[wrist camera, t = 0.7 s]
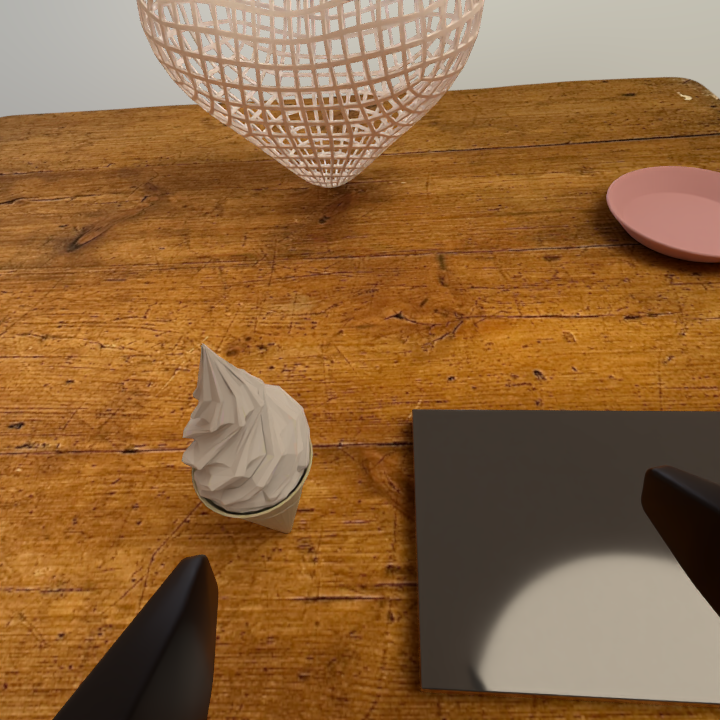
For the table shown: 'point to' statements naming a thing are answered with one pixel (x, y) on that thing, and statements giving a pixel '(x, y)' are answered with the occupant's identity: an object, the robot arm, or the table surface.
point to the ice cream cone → (247, 445)
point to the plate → (670, 210)
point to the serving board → (558, 557)
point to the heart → (314, 74)
